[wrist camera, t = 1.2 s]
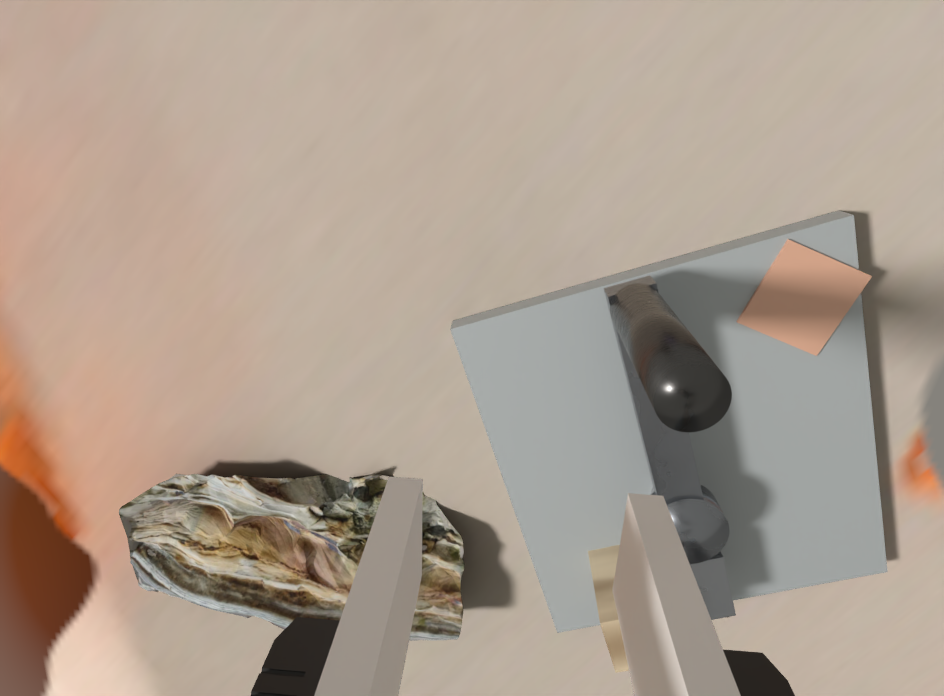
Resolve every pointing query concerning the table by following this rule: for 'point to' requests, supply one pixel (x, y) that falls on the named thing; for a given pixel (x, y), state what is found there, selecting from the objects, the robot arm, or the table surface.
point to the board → (715, 449)
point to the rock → (281, 547)
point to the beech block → (608, 602)
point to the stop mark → (803, 297)
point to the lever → (675, 423)
